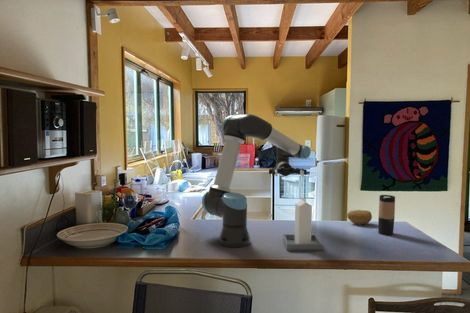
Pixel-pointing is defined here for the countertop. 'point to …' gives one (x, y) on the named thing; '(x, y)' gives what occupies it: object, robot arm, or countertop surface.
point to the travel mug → (386, 214)
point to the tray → (292, 246)
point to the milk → (303, 222)
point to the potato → (359, 216)
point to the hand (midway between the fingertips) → (289, 173)
